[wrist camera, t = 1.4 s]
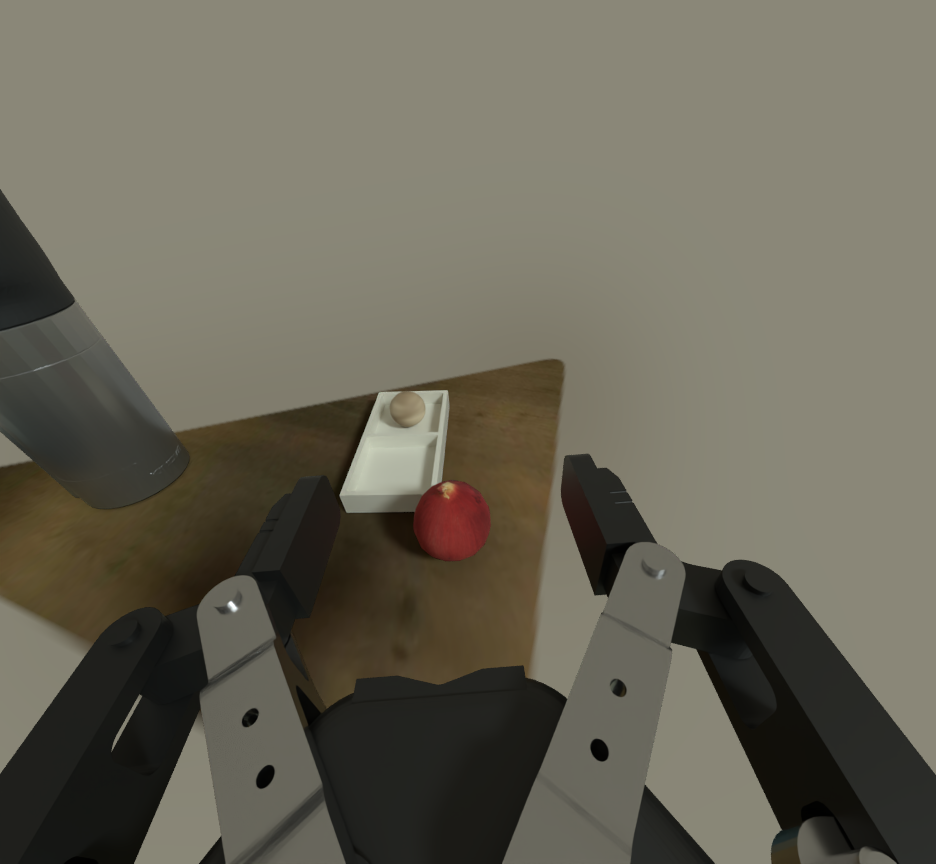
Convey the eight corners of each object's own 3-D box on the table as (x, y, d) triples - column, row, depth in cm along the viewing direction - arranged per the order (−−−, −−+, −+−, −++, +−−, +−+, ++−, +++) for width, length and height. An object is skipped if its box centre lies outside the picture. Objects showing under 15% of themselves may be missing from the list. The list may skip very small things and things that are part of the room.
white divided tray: (346, 512, 33) (339, 495, 31) (383, 408, 46) (379, 392, 44) (438, 511, 32) (435, 494, 31) (449, 406, 45) (447, 390, 44)
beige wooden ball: (390, 434, 40) (383, 405, 38) (396, 413, 43) (390, 384, 41) (425, 433, 40) (420, 404, 37) (429, 412, 43) (425, 383, 40)
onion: (437, 512, 32) (426, 446, 27) (498, 528, 31) (499, 461, 26) (408, 569, 28) (390, 504, 23) (478, 591, 27) (474, 526, 21)
